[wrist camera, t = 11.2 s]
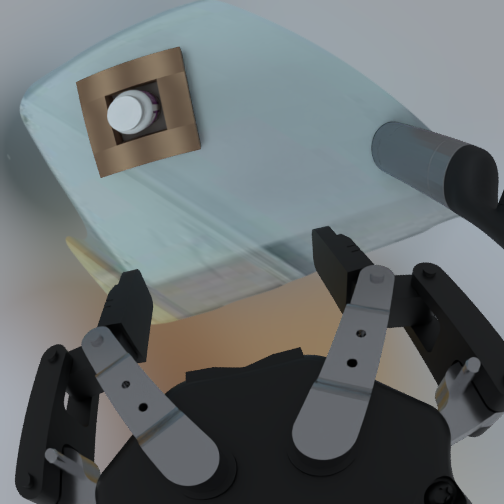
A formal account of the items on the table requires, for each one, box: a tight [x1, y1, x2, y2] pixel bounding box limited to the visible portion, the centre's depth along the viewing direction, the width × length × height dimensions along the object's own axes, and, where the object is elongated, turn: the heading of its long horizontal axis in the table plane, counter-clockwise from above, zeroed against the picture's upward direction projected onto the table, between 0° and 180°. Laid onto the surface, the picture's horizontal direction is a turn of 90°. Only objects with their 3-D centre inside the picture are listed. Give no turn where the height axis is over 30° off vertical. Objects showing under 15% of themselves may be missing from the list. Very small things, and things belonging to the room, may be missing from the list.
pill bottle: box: [107, 90, 160, 134], centre depth 29 cm, size 5×5×10 cm
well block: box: [76, 47, 201, 178], centre depth 32 cm, size 14×14×4 cm
